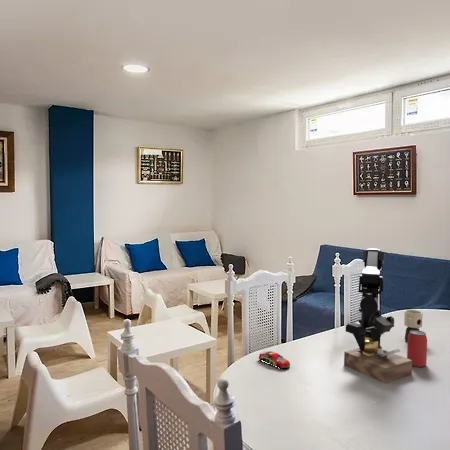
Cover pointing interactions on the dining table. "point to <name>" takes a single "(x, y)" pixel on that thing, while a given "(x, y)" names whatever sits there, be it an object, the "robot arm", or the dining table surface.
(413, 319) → the character mug
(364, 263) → the robot arm
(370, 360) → the brown rectangular block
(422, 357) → the beer can
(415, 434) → the dining table surface
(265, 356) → the race car
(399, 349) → the latch bar
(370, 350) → the brass pin
